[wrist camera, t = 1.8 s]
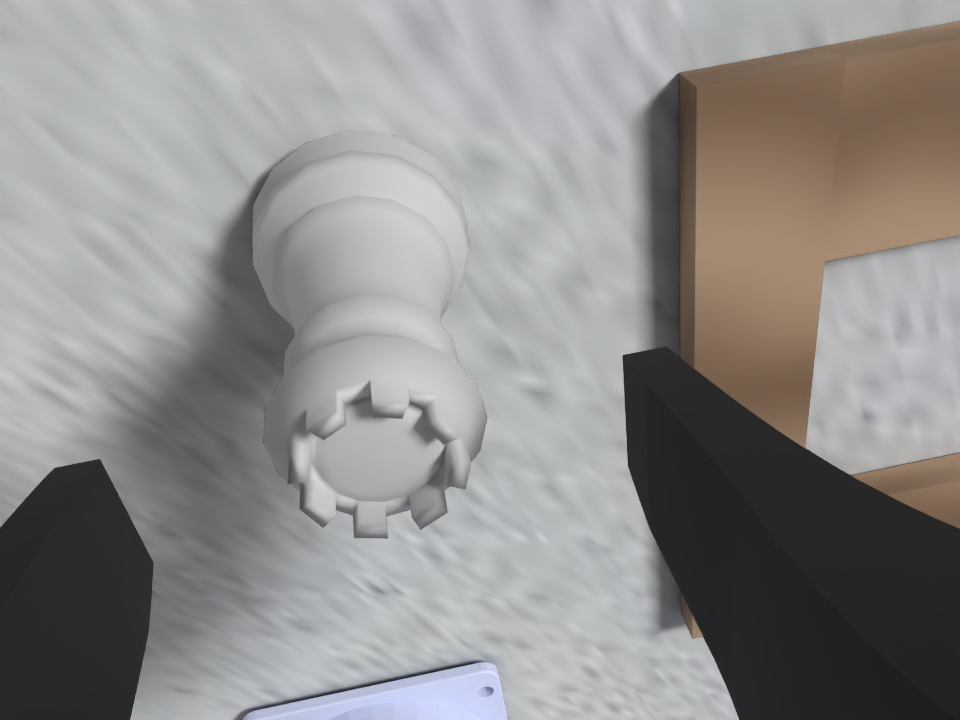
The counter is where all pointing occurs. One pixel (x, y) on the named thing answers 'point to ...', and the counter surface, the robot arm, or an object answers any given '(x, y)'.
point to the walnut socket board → (811, 213)
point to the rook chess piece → (367, 330)
